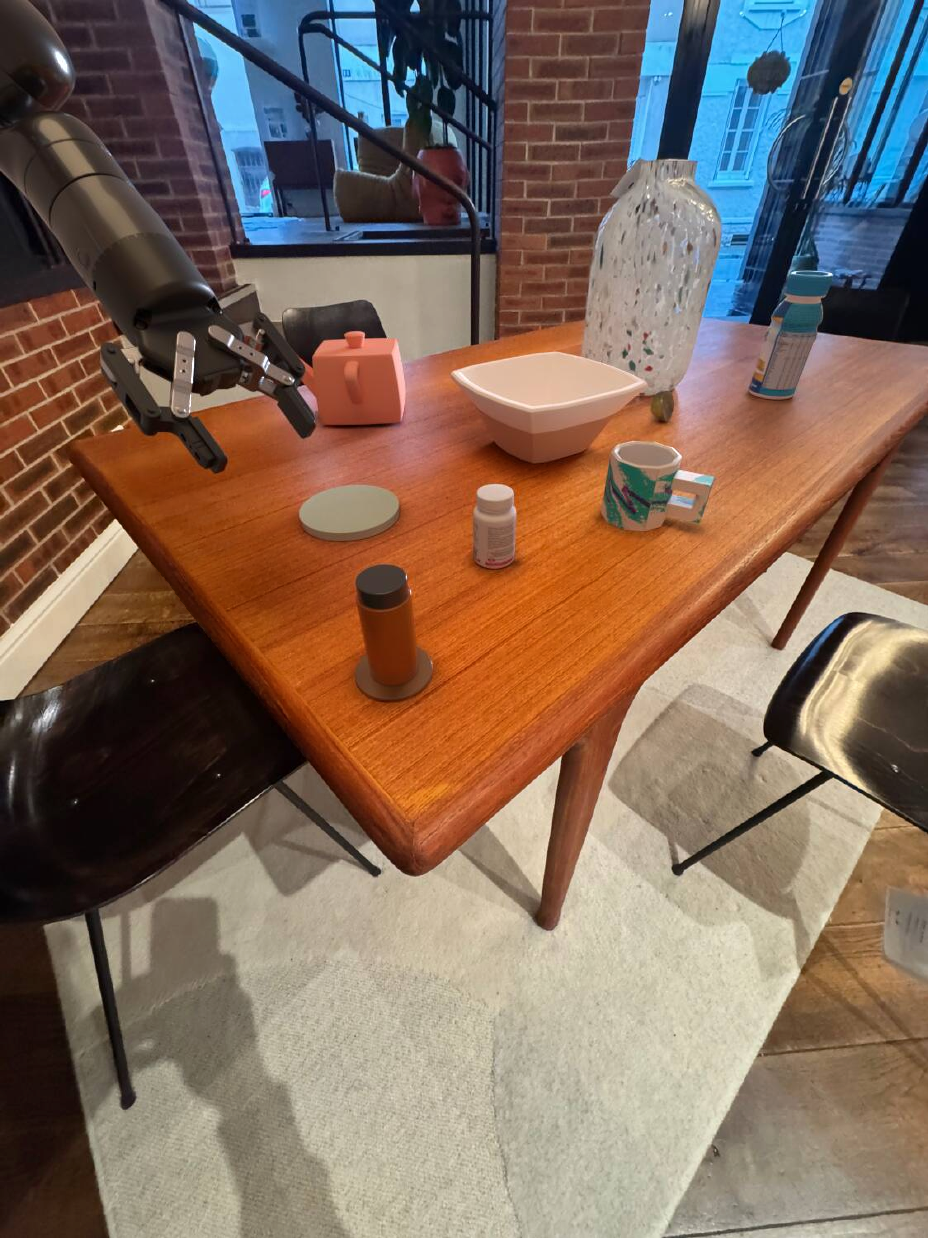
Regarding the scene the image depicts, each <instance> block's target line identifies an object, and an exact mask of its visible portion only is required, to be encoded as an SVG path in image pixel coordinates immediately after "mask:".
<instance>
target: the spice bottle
mask: <svg viewBox="0 0 928 1238" xmlns="http://www.w3.org/2000/svg"><path fill="white" fill-rule="evenodd" d="M354 585H355V588H356V594H355V602H356V607H357V613H358V618H359V622H360V628H361V633H362V638H363V643H364V648H365V654H366V653H367V658H368V664H369V669H370V673H371V676H372V677H373V679H374V680H375V681H377V682H378V683H380V684H383V685H387V686H396V685H401V684H404V683H406V682H408V681H410V680H411V679H412V678H413V677H414V676H415V675H416V674H417V672H418V669H419V661H418V652H417V647H418V643H417V634H416V626H415V625H416V624H415V616H414V606H413V605H414V604H413V596H412V590H411V588H410V586H409V583H408V576H407V573H406V571H405V570H404V569H403V568H401V567H400V566H397V565H395V564H387V563H381V564H375V565H371V566H368V567H366V568H365V569H363V570H361V571H360V572H359V573H358V574H357V576H356V578H355V584H354Z"/></svg>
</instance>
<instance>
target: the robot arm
mask: <svg viewBox="0 0 928 1238" xmlns="http://www.w3.org/2000/svg"><path fill="white" fill-rule="evenodd" d="M75 87H76V73H75V69H74V65H73V63H72V60H71V57H70V55H69V52H68V51H67V49H66V46H65V44H64V43H63V41H62V39H61V37H60V36H59V35H58V33H57V31H56V30H55V28H54V27H53V26H52V24H50V22H49V21H48V19H46V17H45V16H44V15H43V14H42V13H41V12H40V11H39V10H38V9H37V7H36V6H34V4H32V3H31V2H30V1H29V0H0V172H1V173H2V174H3V175H4V176H5V177H6V178H7V179H9V181H10V182H11V183H12V184H13V185H14V186H15V187H16V188H17V189H18V190H19V191H20V192H21V193H22V194H23V196H25V198H26V199H27V200H28V202H29V203H30V204H31V206H32V207H33V208H34V210H35V211H36V212H37V214H38V215H39V217H40V218H41V219H42V221H43V222H44V223H45V225H46V226H47V228H48V229H49V230H50V231H51V233H52V234H53V235H54V237H55V238H56V240H57V241H58V242H59V244H60V245H61V247H62V249H63V251H64V253H65V255H66V257H67V259H68V260H69V262H70V263H71V264H72V266H73V267H74V269H75V271H76V272H77V274H78V275H79V276H80V278H81V279H82V280H83V281H84V283H85V284H86V286H87V287H88V288H89V290H90V291H91V292H92V293H93V295H94V296H95V298H96V299H97V300H98V302H99V303H100V304H101V306H102V307H103V308H104V309H105V311H106V312H107V314H108V316H109V317H110V318H111V319H112V320H113V322H114V323H115V324H116V326H117V328H118V329H119V330H120V331H121V333H122V334H123V335H124V337H125V338H126V339H127V341H128V342H129V343H130V344H131V345H132V346H131V347H124V348H120V346H119V345H117V344H116V343H114V342H110V341H105V342H102V343H101V344H100V359H99V360H100V361H99V362H100V363H99V364H100V373H101V374H102V376H103V377H104V379H105V380H106V382H107V383H108V386H109V387H110V388H111V389H112V391H113V392H114V393H115V396H116V397H117V398H118V400H119V401H120V403H121V404H122V406H123V407H124V409H125V410H126V412H127V413H128V415H129V416H130V417H131V419H132V420H133V422H134V424H136V426H137V428H138V429H139V431H140V432H141V433H142V434H143V435H145V436H147V437H155V436H156V435H158V433H169V434H172V435H174V436H175V437H177V438H178V439H179V440H180V441H181V443H182V444H183V446H184V447H185V448H186V449H187V451H188V452H189V454H190V455H191V456H192V457H193V459H194V460H195V462H196V463H197V464H198V465H199V466H200V467H201V468H203V469H204V470H208V469H209V470H210V471H211V472H212V473H213V474H214V475H217V474H220V473H222V472H225V470H226V468H227V465H228V462H229V461H228V460H229V459H228V457H227V455H226V453H225V451H224V450H223V449H222V447H221V446H220V445H219V443H218V442H217V441H216V439H215V438H214V437H213V435H212V434H211V432H210V431H209V430H208V429H207V427H206V426H205V424H204V423H203V422H202V420H201V419H200V418H199V416H194V417H193V416H192V415H191V400H192V394H197V395H199V396H200V397H201V398H202V397H205V396H209V395H211V394H213V393H214V392H216V391H219V390H230V389H233V388H236V387H237V386H240V387H241V388H243V389H245V390H247V391H248V392H251V393H256V392H259V393H261V394H263V395H265V396H267V397H269V398H271V399H272V400H274V401H276V402H277V403H276V405H277V407H278V408H279V410H280V411H281V413H282V414H283V416H285V418H286V420H287V421H288V422H289V424H290V425H291V426H292V428H293V429H294V430H295V432H296V434H297V435H298V436H299V438H300V439H302V440H305V439H307V438H310V437H312V435H313V433H314V431H315V430H316V428H317V423H316V421H317V417H316V414H315V412H314V411H313V409H312V408H311V407H310V405H309V404H308V402H307V401H306V399H305V398H304V397H303V395H302V394H301V393H300V391H299V390H298V389H299V386H300V384H301V382H302V378H303V376H304V373H305V371H306V367H305V365H304V364H303V362H302V361H301V360H300V357H299V355H298V354H297V352H295V351H294V349H293V347H291V345H290V344H289V342H287V340H286V339H285V337H284V336H283V334H281V333H280V332H281V331H279V330H278V329H277V327H276V326H275V325H274V323H273V322H272V321H271V319H270V318H269V317H268V316H267V314H266V313H264V312H261V311H256V312H255V313H254V315H253V318H252V320H251V321H248V322H244V323H241V324H238V323H236V322H235V321H233V320H232V319H230V318H229V317H228V316H227V315H226V314H225V313H224V311H223V310H222V307H221V305H220V303H219V300H218V298H217V296H216V294H215V292H214V291H213V289H212V288H211V287H210V285H209V283H208V282H207V281H206V279H205V278H204V277H203V275H202V274H201V272H200V271H199V270H198V268H197V267H196V265H195V264H194V263H193V261H192V259H190V257H189V255H188V254H187V252H186V251H185V250H184V249H183V247H182V245H181V244H180V243H179V242H178V240H177V239H176V237H175V236H174V234H173V233H172V232H171V230H170V229H169V228H168V226H167V225H166V223H165V222H164V220H163V219H162V218H161V217H160V215H159V214H158V213H157V212H156V211H155V209H153V207H152V206H151V205H150V204H149V203H148V202H147V201H146V200H145V198H143V196H142V195H141V194H140V192H139V191H138V190H137V188H136V187H135V186H134V184H133V182H132V181H131V180H130V179H129V177H128V175H127V174H126V173H125V171H124V170H123V169H122V167H121V166H120V164H119V163H118V162H117V160H116V159H115V157H114V156H113V155H112V154H111V152H110V151H109V149H108V148H107V147H106V145H105V144H104V143H103V141H102V140H101V139H100V137H98V135H97V134H96V133H95V132H94V131H93V130H92V128H90V127H89V126H88V125H87V124H86V123H84V122H83V121H82V120H80V119H79V118H78V117H75V116H74V115H72V114H69V113H66V112H63V111H60V109H61V108H62V107H63V106H64V104H65V103H66V102H67V101H68V99H69V98H70V97H71V95H72V94H73V91H74V89H75ZM297 355H298V356H297ZM245 363H246V364H248V365H249V366H250V367H251V368H252V372H247V371H245V370H244V369H245ZM141 367H142V368H143V369H145V370H146V371H148V372H149V373H152V374H154V375H155V376H157V377H158V378H161V379H163V380H165V381H167V382H168V383H170V388H169V399H168V400H169V401H168V404H169V405H168V406H163V405H158V403H157V402H156V400H155V398H154V397H153V395H152V394H151V392H150V391H149V390H148V388H147V386H146V385H145V383H144V382H143V380H142V378H141Z"/></svg>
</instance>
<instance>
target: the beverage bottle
mask: <svg viewBox="0 0 928 1238" xmlns="http://www.w3.org/2000/svg"><path fill="white" fill-rule="evenodd" d="M833 279H834V274H833V273H831V272H827V271H818V270H797V271H792V272H791V273H790V274H789V276H788V279H787V281H786V284H785V288H784V293H783V295H784V296H786V297H785V298H784V299H783V300H782V302H780V303H779V305H778V306H777V307H776V308H775V309H774V311H773V313H772V314H771V317H770V320H771V323H770V325H769V326H768V327H767V328H766V331H765V333H764V339H763V342H762V344H761V348H760V351H759V354H758V358H757V362H756V365H755V368H754V371H753V374H752V377H751V381H750V383H749V386H748V392H749V393H750V394H751V396H754V397H756V398H761V399H764V400H772V401H774V400H775V401H779V400H780V401H782V400H783V401H784V400H787V399H788V400H789V399H790V398H792V397H793V396H794V395H795V393H796V391H797V387H798V384H799V381H800V379H801V376H802V374H803V372H804V369H805V366H806V363H807V361H808V358H809V356H810V353H811V350H812V348H813V345H814V343H815V342H816V340H817V338H818V327H819V325H820V324H821V323H822V322H823V319H824V308H823V303H822V300H821V299H823V298H825V297H826V296H827V295H828V294H829V293H828V292H829V290H830V288H831V285H832V282H833Z"/></svg>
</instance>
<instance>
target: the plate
mask: <svg viewBox="0 0 928 1238" xmlns="http://www.w3.org/2000/svg"><path fill="white" fill-rule="evenodd" d="M400 514H401V509H400V501H399V499H398V496H396V494H395V493H394V492H392V491H390V490H389V489H386V488H383V487H381V486H377V485H371V484H347V485H340V486H335V487H331V488H328V489H325V490H323V491H320V492H318V493H316V494H314V495H312V496H310V497H309V498H308V499H306V500H305V501H304V502H303V504H302V505H301V506H300V508H299V511H298V516H299V521H300V526H301V527H302V529H303V530H304V532H306V533H307V534H309V535H310V536H312V537H313V538H317V539H320V540H323V541H328V542H329V541H331V542H352V541H359V540H363V539H368V538H371V537H373V536H376V535H379V534H382V533H383V532H385V531H387V530H388V529H390V528H391V527H392V526H394V525H395V523H396V522H397V521H398V520H399V518H400Z"/></svg>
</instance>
